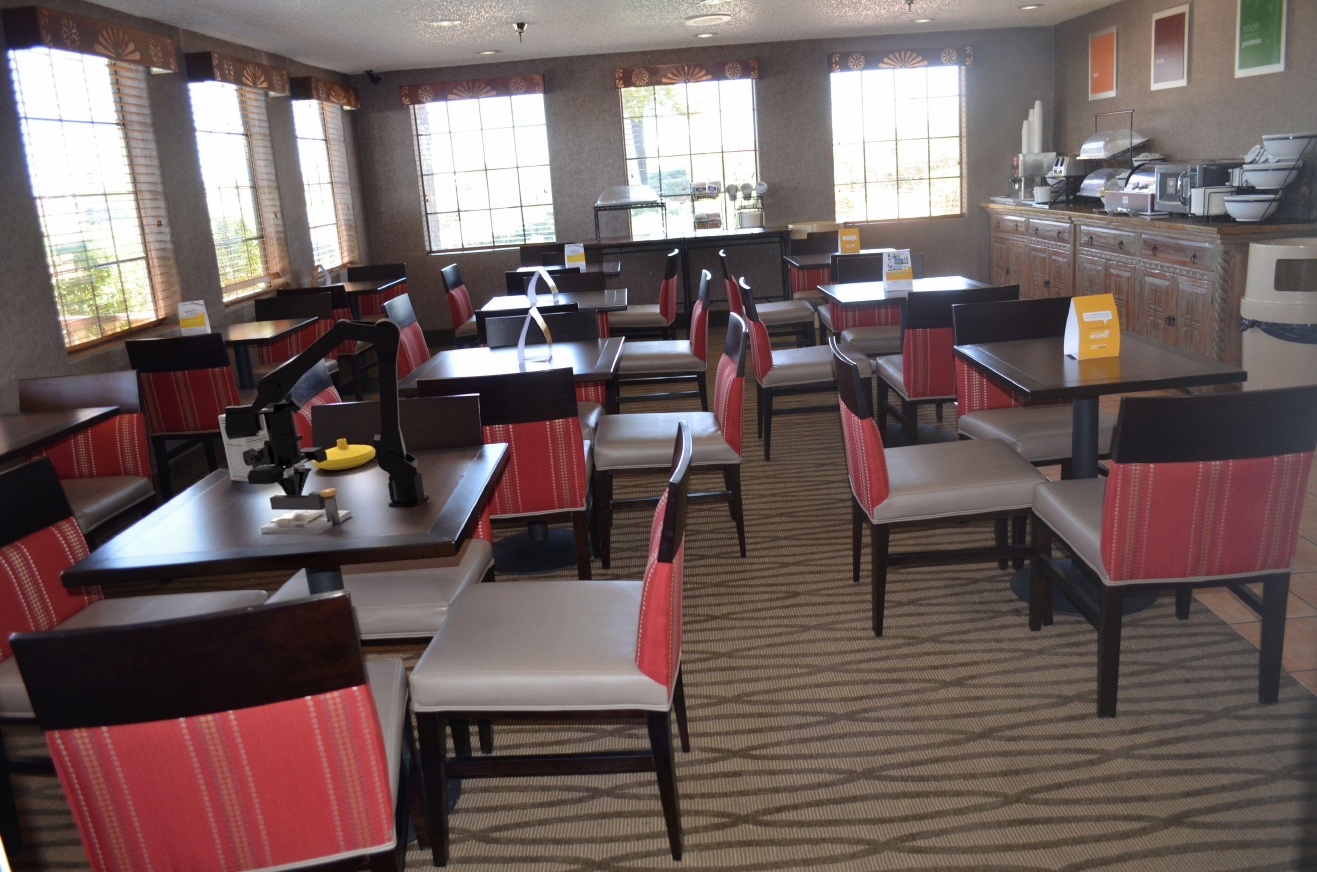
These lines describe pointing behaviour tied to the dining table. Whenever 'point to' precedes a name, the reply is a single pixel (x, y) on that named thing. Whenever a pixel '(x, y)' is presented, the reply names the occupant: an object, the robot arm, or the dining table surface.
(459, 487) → the dining table surface
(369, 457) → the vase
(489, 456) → the dining table surface
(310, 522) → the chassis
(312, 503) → the bar
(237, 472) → the supplement box
